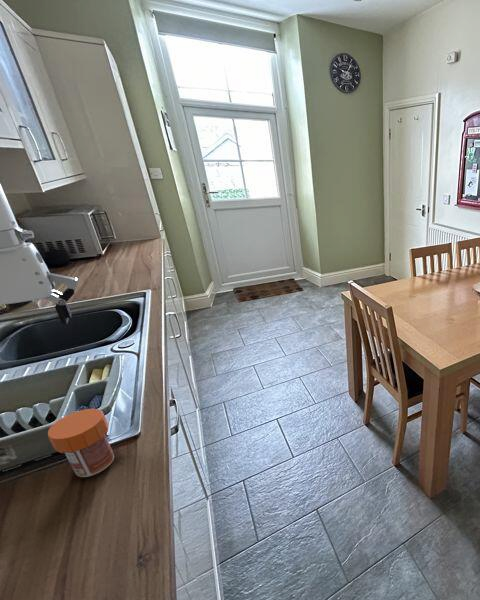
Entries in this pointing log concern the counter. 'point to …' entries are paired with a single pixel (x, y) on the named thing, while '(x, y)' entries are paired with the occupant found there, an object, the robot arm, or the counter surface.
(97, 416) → the cap
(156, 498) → the counter surface
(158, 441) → the counter surface
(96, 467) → the pill bottle
